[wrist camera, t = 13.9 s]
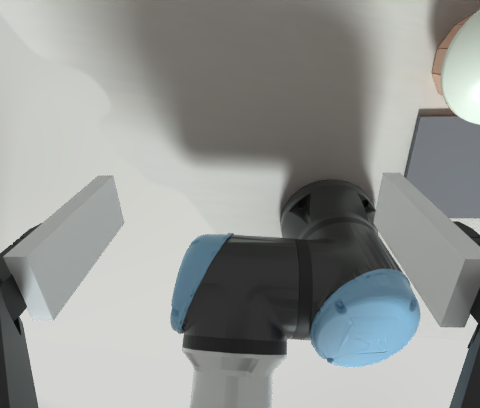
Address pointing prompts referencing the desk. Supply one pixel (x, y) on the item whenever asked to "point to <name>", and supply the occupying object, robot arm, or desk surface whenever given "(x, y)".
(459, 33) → the lid
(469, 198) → the mat
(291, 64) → the desk surface
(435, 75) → the bowl
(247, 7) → the desk surface
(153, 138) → the desk surface
